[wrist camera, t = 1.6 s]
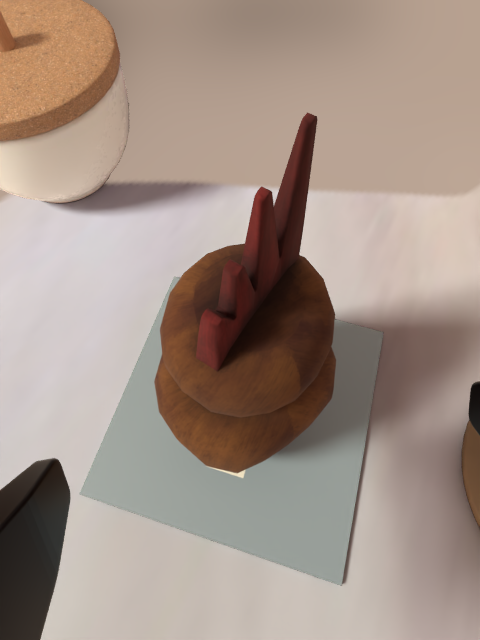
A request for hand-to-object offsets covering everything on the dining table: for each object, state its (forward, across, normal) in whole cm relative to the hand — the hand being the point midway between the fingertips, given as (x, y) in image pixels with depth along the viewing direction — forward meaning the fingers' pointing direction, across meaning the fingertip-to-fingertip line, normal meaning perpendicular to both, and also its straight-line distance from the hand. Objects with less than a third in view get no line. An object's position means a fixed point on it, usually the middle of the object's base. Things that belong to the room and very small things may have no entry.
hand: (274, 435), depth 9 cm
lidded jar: (+23, +9, -7) cm, 26 cm away
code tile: (+10, 0, +6) cm, 12 cm away
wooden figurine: (+10, 0, +6) cm, 12 cm away
